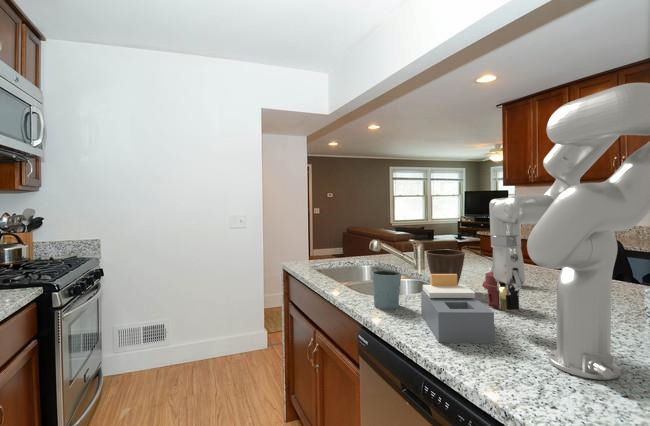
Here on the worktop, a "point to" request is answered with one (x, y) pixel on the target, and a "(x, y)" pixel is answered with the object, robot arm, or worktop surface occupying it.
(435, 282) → the lid
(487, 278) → the mechanical component
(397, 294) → the blue-grey cup
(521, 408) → the worktop surface
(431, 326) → the housing
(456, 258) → the plant pot
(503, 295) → the peg
